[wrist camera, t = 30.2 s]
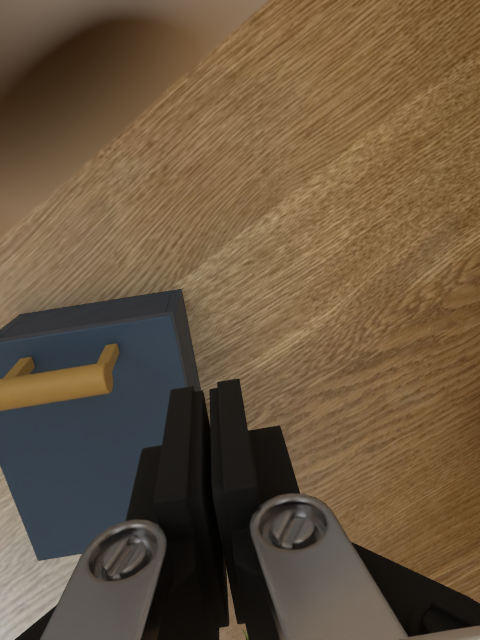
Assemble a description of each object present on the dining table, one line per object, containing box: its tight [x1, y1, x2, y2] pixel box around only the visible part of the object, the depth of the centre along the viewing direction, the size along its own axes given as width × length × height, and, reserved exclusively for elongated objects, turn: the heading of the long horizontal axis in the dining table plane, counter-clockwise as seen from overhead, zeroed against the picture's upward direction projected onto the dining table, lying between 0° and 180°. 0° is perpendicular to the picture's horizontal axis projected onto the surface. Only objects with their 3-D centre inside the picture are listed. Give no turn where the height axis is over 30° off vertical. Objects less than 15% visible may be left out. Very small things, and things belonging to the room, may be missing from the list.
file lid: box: [0, 311, 188, 561], centre depth 27 cm, size 16×13×5 cm
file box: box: [0, 289, 201, 392], centre depth 34 cm, size 16×13×8 cm
